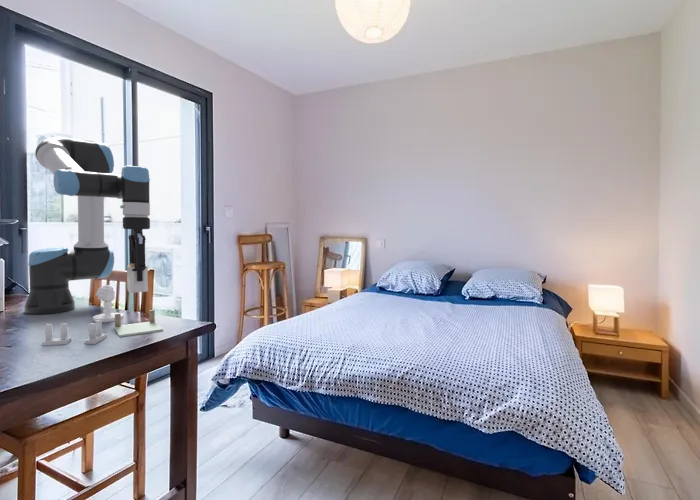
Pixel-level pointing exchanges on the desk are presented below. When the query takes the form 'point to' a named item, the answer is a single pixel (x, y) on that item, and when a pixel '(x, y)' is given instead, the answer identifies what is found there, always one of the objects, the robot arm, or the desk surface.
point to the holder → (136, 326)
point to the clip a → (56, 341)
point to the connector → (131, 278)
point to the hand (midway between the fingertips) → (137, 289)
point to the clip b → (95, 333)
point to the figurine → (106, 304)
